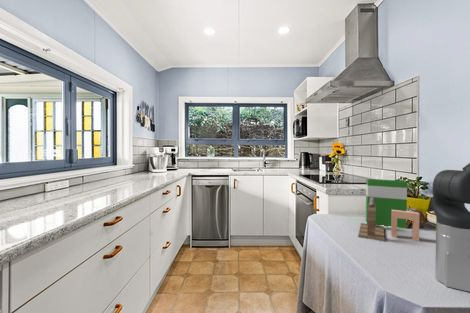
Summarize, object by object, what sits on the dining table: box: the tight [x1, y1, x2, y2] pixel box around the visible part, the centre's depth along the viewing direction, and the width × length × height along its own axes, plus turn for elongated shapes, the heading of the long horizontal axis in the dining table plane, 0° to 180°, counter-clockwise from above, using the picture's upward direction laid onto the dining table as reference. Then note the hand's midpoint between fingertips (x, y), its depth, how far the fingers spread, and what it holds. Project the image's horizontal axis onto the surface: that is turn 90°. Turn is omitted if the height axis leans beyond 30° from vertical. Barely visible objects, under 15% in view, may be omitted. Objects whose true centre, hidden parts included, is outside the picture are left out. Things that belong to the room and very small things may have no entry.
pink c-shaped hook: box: [390, 210, 420, 242], centre depth 106 cm, size 3×10×12 cm, turn 59°
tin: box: [407, 207, 426, 228], centre depth 128 cm, size 15×3×8 cm, turn 168°
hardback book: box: [365, 178, 408, 229], centre depth 126 cm, size 18×7×24 cm, turn 66°
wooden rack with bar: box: [357, 197, 385, 242], centre depth 113 cm, size 21×10×16 cm, turn 149°
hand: (444, 193), depth 99 cm, fingers open, 8 cm apart
